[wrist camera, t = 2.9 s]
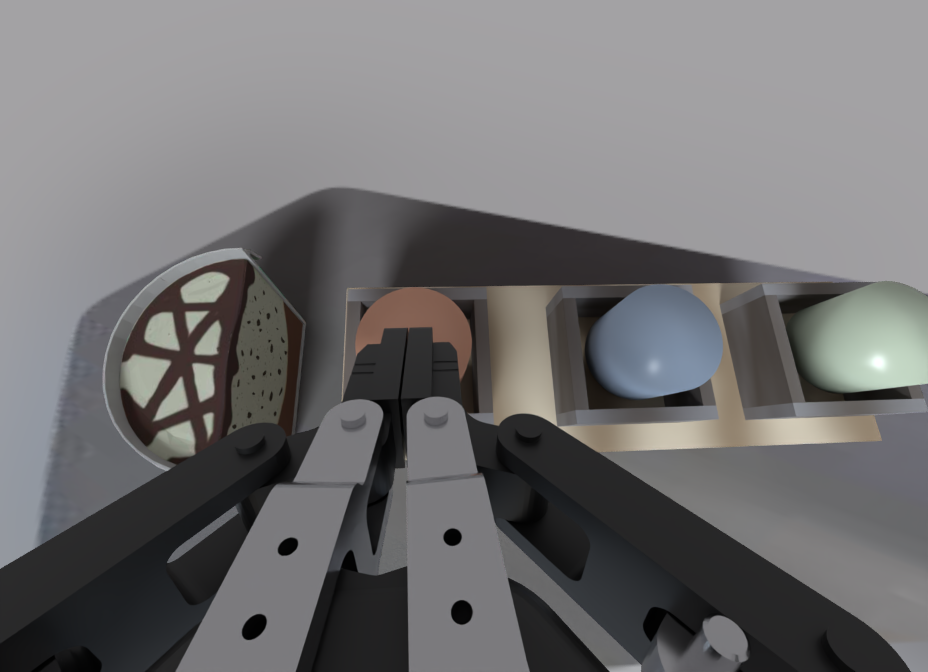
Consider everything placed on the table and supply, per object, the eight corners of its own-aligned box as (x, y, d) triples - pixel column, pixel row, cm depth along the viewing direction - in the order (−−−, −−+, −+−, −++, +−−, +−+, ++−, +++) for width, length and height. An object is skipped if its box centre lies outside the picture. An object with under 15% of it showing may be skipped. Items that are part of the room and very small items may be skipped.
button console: (724, 326, 31) (889, 258, 20) (749, 440, 29) (955, 440, 17) (375, 333, 29) (331, 263, 18) (372, 455, 27) (319, 466, 16)
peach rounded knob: (465, 312, 18) (469, 286, 15) (468, 405, 17) (474, 397, 14) (371, 314, 18) (357, 288, 15) (369, 408, 17) (352, 401, 14)
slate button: (666, 309, 19) (710, 283, 16) (683, 398, 18) (733, 389, 15) (579, 310, 19) (606, 284, 16) (590, 401, 18) (622, 393, 14)
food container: (226, 303, 30) (121, 236, 20) (308, 303, 30) (243, 238, 20) (199, 473, 26) (58, 491, 17) (291, 471, 27) (205, 488, 17)
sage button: (856, 305, 20) (933, 280, 16) (884, 392, 18) (972, 382, 15) (774, 307, 19) (837, 281, 16) (797, 395, 18) (870, 385, 15)
